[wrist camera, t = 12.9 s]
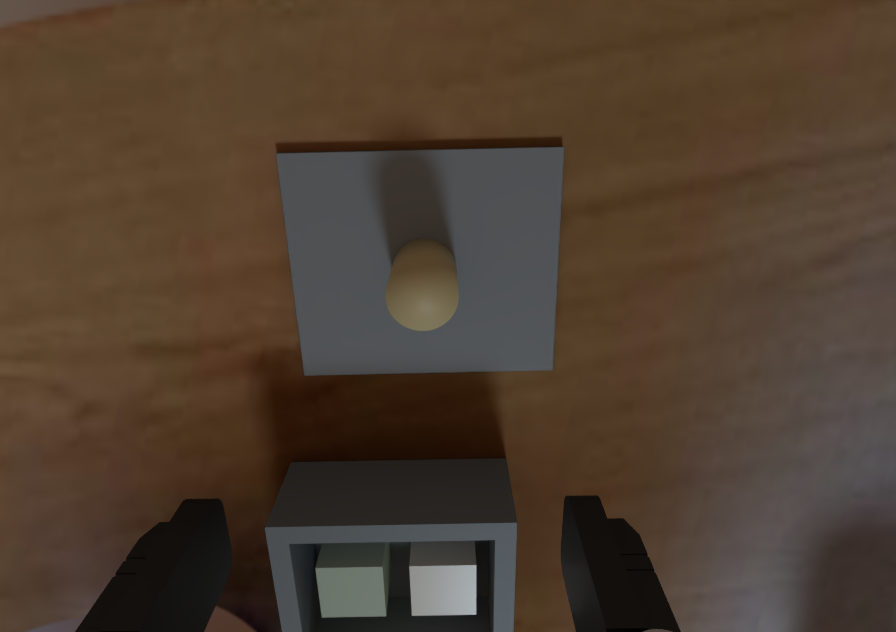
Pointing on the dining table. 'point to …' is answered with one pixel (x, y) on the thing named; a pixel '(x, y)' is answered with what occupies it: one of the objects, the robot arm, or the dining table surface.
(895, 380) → the dining table surface
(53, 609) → the dining table surface
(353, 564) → the sage block
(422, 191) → the lid
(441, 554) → the cream block
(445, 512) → the box
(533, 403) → the dining table surface
